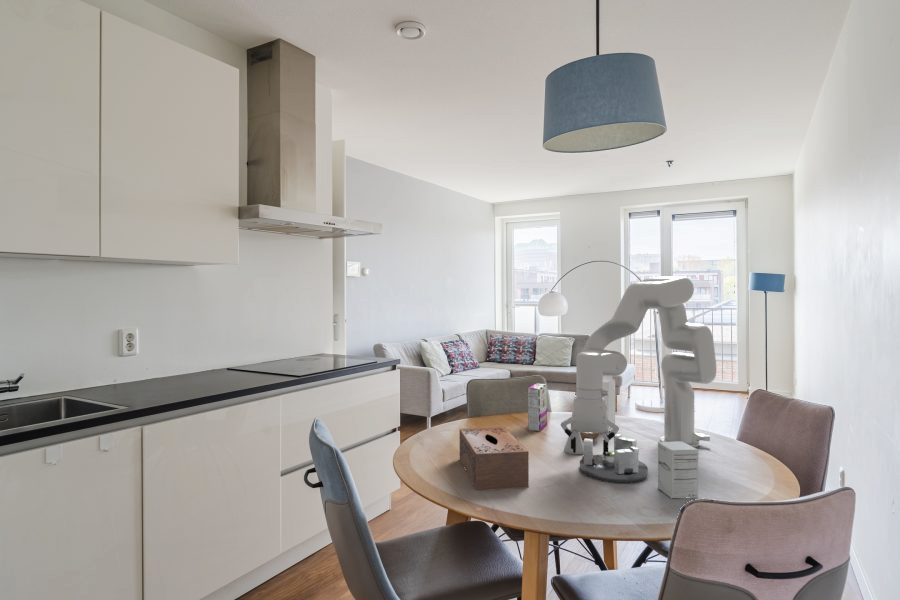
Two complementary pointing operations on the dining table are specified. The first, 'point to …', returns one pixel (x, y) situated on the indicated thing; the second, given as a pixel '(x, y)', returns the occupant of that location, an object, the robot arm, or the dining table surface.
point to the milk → (609, 398)
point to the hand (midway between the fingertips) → (589, 452)
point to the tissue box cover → (494, 458)
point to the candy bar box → (537, 407)
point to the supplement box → (678, 469)
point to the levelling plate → (611, 470)
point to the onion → (588, 435)
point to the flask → (578, 444)
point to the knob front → (588, 452)
